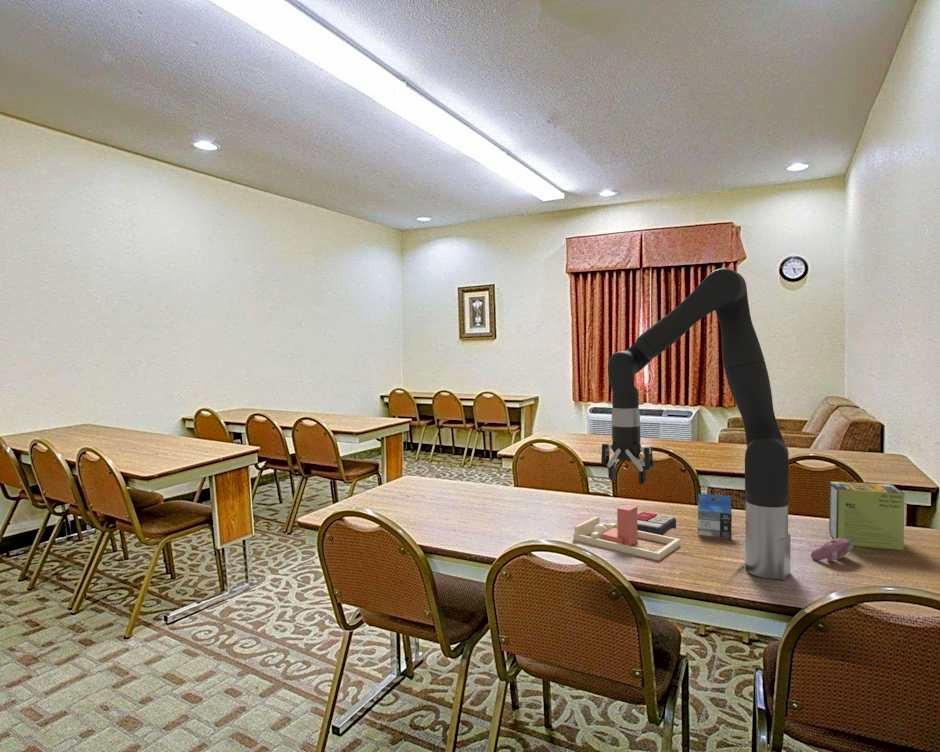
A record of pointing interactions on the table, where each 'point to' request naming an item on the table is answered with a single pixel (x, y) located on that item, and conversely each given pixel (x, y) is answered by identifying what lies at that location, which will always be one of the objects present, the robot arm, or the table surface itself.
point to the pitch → (588, 527)
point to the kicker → (624, 527)
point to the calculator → (654, 523)
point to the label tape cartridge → (715, 516)
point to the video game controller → (833, 550)
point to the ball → (600, 529)
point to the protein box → (867, 514)
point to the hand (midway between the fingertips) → (627, 482)
